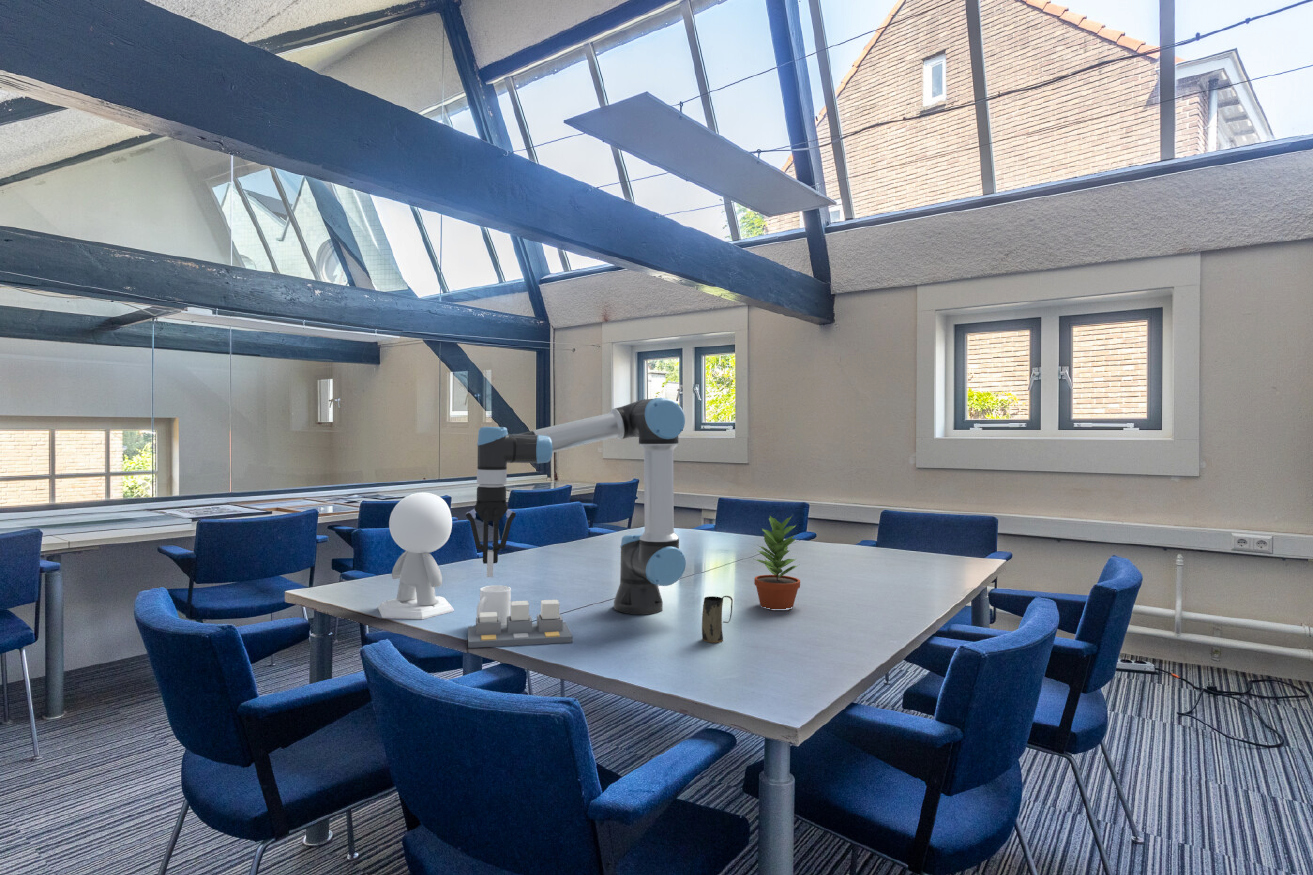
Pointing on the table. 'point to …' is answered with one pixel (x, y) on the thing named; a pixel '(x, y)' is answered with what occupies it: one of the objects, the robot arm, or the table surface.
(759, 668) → the table surface
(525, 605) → the button
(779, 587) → the potted plant
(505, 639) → the board
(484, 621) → the button
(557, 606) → the button
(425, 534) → the white toy figurine
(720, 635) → the mug
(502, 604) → the mug
